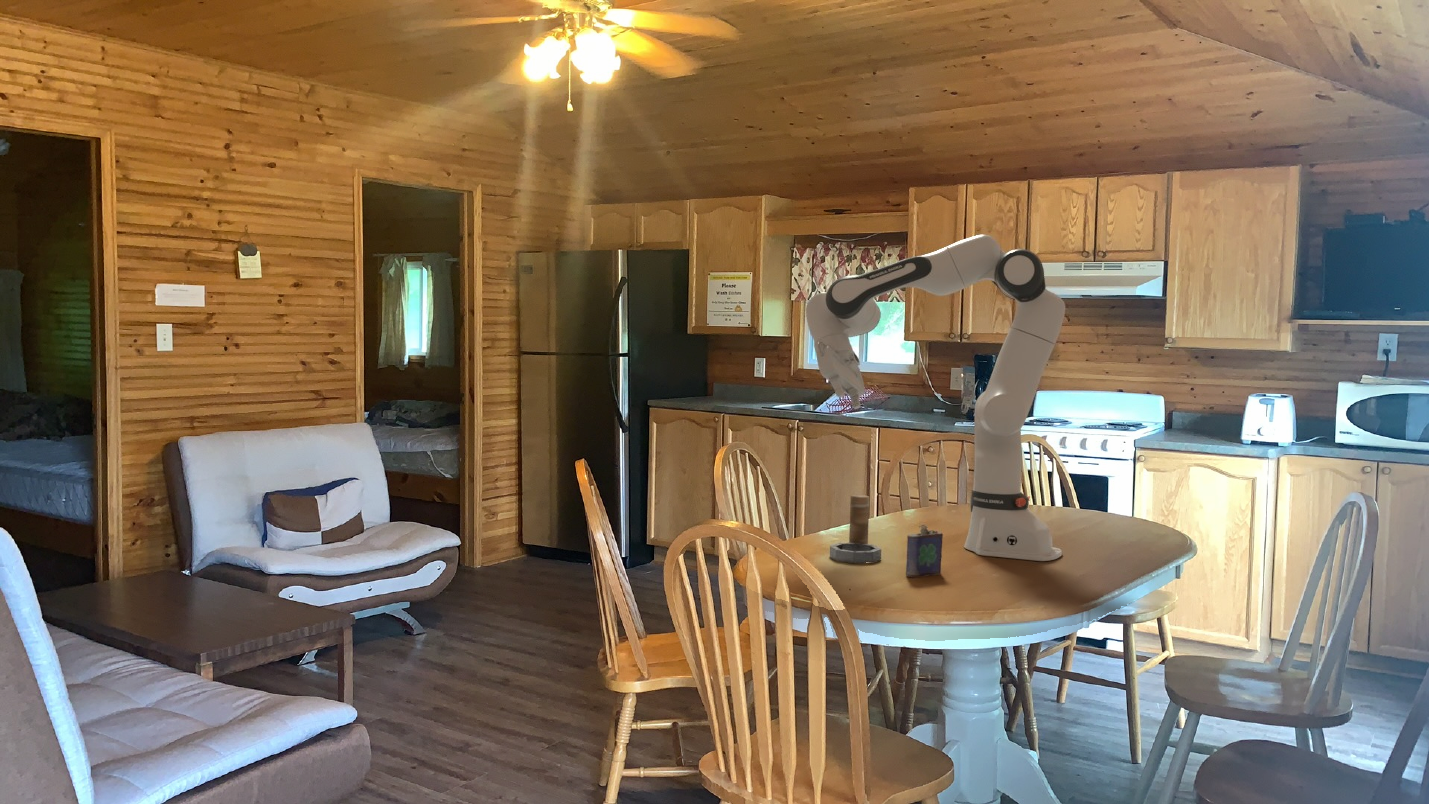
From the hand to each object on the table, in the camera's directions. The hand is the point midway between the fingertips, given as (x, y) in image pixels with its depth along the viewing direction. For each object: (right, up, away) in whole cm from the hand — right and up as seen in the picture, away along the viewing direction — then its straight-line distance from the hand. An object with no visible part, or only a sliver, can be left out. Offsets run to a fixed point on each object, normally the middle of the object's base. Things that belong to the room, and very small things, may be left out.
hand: (849, 402), depth 258 cm
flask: (+12, -37, -30) cm, 49 cm away
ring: (0, -36, -14) cm, 39 cm away
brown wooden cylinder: (+2, -35, 0) cm, 35 cm away
